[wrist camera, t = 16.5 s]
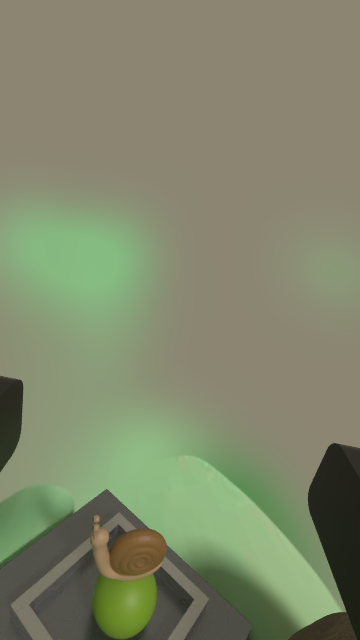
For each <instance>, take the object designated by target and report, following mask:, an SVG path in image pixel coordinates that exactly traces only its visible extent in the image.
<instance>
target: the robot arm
mask: <svg viewBox="0 0 360 640" xmlns="http://www.w3.org/2000/svg"><path fill="white" fill-rule="evenodd" d="M22 404H23V383H22V381H21V380H18V379H13V378H8V377H3V376H0V472H1V470H2V469H3V467H4V466H5V465H6V463H7V462H8V460H9V459H10V457H11V456H12V454H13V453H14V451H15V449H16V446H17V444H18V441H19V438H20V434H21V424H22ZM308 506H309V511H310V514H311V517H312V520H313V522H314V525H315V528H316V530H317V533H318V535H319V538H320V541H321V544H322V547H323V549H324V552H325V555H326V557H327V560H328V563H329V565H330V568H331V571H332V573H333V576H334V579H335V581H336V584H337V587H338V590H339V592H340V595H341V598H342V601H343V603H344V606H345V608H346V611H347V614H348V617H349V619H350V622H351V625H352V628H353V630H354V633H355V636H356V638H357V640H360V448H356V447H351V446H346V445H341V444H336V443H333V444H331V445H330V446H329V447H328V449H327V451H326V453H325V455H324V457H323V459H322V462H321V464H320V466H319V468H318V470H317V472H316V475H315V477H314V479H313V481H312V483H311V485H310V488H309V493H308Z"/></svg>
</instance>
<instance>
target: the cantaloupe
mask: <svg viewBox="0 0 360 640" xmlns="http://www.w3.org/2000/svg"><path fill="white" fill-rule="evenodd" d="M288 640H357V638H356V636H355V633H354V630H353V628H352V625H351V622H350V619H349V617H348V614H347V612H338V613H333V614H330V615H327V616H325V617H323V618H321V619H319V620H317V621H315V622H314V623H312V624H311V625H308V626H306V627H304V628H303V629H301V630H299V631H298V632H296V633H295V634H293V635H292V636H291V637H290V638H289V639H288Z"/></svg>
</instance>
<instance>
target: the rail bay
mask: <svg viewBox="0 0 360 640" xmlns="http://www.w3.org/2000/svg"><path fill="white" fill-rule="evenodd" d="M95 515H98V516H99V517H100V520H99V522H98V523H97V524H99V526H100V527H103V528H105V529H106V530H107V531H108V533H109V540H108V542H107V548H108V551H109V550H110V548H111V546H112V544H113V542H114V541H115V540H116V539H117V538H118V537H119V536H121V535H122V534H124V533H126V532H128V531H131V530H135V529H142V528H145V529H149V528H148V527H147V526H146V525H145V524H144V523H143V522H142V521H141V520H140V519H138V518H137V517H136V516H135V515H134V514H133V513H132V512H131V511H130V510H129V509H128V508H127V507H126V506H125V505H124V504H122V503H121V502H120V501H119V500H118V499H117V498H116V497H115V496H114V495H113V494H112V493H111V492H109V490H107V489H106V490H105V491H103V492H102V493H101V494H99V495H98V496H97V497H95V498H94V499H93V500H91V501H90V502H89V503H87V504H86V505H85V506H83V507H82V508H81V509H79V510H78V511H77V512H75V513H74V514H73V515H71V516H70V517H69V518H67V519H66V520H65V521H63V522H62V523H61V524H59V525H58V526H57V527H55V528H54V529H53V530H51V531H50V532H49V533H47V534H46V535H45V536H43V537H42V538H41V539H39V540H38V541H36V542H35V543H34V544H32V545H31V546H30V547H28V548H27V549H26V550H24V551H23V552H22V553H20V554H19V555H18V556H16V557H15V558H14V559H12V560H11V561H10V562H8V563H7V564H6V565H4V566H3V567H2V568H0V640H246V639H247V637H248V634H249V632H250V630H251V628H252V626H253V625H252V624H251V623H250V622H249V621H248V620H246V619H245V618H244V617H243V616H242V615H241V614H240V613H239V612H238V611H237V610H236V609H235V608H234V607H233V606H232V605H230V604H229V603H228V602H227V601H226V600H225V599H224V598H223V597H222V596H221V595H220V594H219V593H218V592H217V591H215V590H214V589H213V588H212V587H211V586H210V585H209V584H208V583H207V582H206V581H205V580H204V579H203V578H202V577H201V576H199V575H198V574H197V573H196V572H195V571H194V570H193V569H192V568H191V567H190V566H189V565H188V564H187V563H186V562H184V561H183V560H182V559H181V558H180V557H179V556H178V555H177V554H176V553H175V552H174V551H173V550H172V549H171V548H169V547H168V546H167V551H166V555H165V557H164V559H163V561H162V562H161V563H162V565H161V567H160V568H159V569H158V570H157V571H155V572H154V573H153V575H154V578H155V581H156V586H157V600H156V605H155V609H154V612H153V615H152V617H151V619H150V620H149V622H148V624H147V625H146V626H145V627H144V628H143V629H142V630H141V631H140V632H139V633H138V634H136V635H135V636H133V637H130V638H127V639H115V638H112V637H110V636H108V635H106V634H105V633H104V632H103V631H102V630H101V629H100V628H99V626H98V624H97V623H96V620H95V618H94V615H93V610H92V593H93V589H94V585H95V582H96V580H97V578H98V576H99V574H100V572H99V570H98V569H97V567H96V564H95V561H94V556H93V551H92V545H91V544H90V534H91V533H92V531H93V525H94V523H93V517H94V516H95Z"/></svg>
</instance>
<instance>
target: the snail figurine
mask: <svg viewBox="0 0 360 640" xmlns="http://www.w3.org/2000/svg"><path fill="white" fill-rule="evenodd" d="M99 520H100V517H99V516H98V515H95V516H94V517H93V523H94V525H93V531H92V533H91V534H90V544H91V545H92V551H93V556H94V561H95V564H96V567H97V569H98V570H99V572H100V574H99V576H98V578H97V580H96V582H95V585H94V589H93V593H92V610H93V615H94V618H95V620H96V623H97V624H98V626H99V628H100V629H101V630H102V631H103V632H104V633H105V634H106V635H108V636H110V637H112V638H115V639H127V638H130V637H133V636H135V635H136V634H138V633H139V632H140V631H141V630H142V629H143V628H144V627H145V626H146V625H147V624H148V622H149V620H150V619H151V617H152V615H153V612H154V609H155V605H156V600H157V586H156V581H155V578H154V575H153V573H154V572H155V571H157V570H158V569H159V568H160V567H161V565H162V563H161V562H162V561H163V559H164V557H165V555H166V551H167V545H166V541H165V539H164V537H163V536H162V535H161V534H160V533H158V532H157V531H155V530H152V529H145V528H142V529H135V530H131V531H128V532H126V533H124V534H122V535H121V536H119V537H118V538H117V539H116V540H115V541H114V542H113V544H112V546H111V548H110V550H109V551H108V548H107V542H108V540H109V533H108V531H107V530H106V529H105V528H103V527H100V526H99V524H97V523H98V522H99Z"/></svg>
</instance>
